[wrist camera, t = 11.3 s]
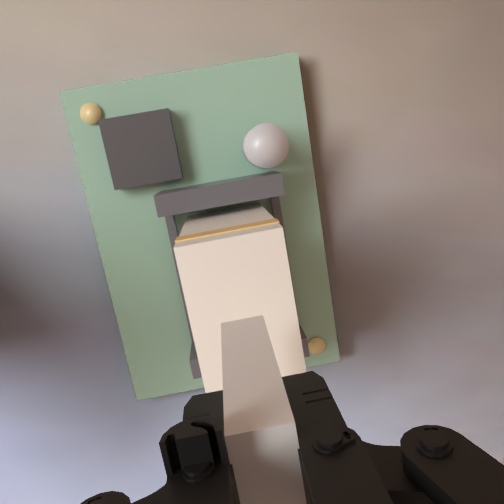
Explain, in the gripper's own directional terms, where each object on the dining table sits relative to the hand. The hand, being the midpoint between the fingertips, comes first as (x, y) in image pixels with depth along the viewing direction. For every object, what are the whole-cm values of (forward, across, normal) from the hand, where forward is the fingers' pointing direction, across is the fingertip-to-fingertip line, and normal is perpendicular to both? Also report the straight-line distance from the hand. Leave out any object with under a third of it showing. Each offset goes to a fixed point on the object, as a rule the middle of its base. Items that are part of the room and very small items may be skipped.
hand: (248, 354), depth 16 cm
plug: (+13, 0, 0) cm, 13 cm away
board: (+14, -1, +2) cm, 14 cm away
